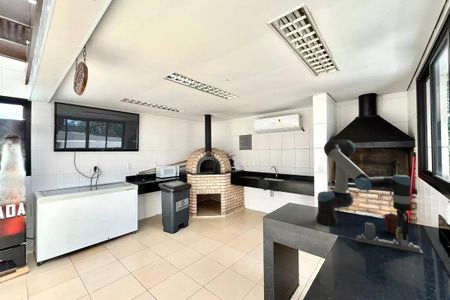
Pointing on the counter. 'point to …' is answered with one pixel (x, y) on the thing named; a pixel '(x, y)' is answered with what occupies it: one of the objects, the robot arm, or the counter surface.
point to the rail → (385, 243)
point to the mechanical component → (390, 222)
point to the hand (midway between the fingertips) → (402, 242)
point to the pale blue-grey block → (399, 236)
